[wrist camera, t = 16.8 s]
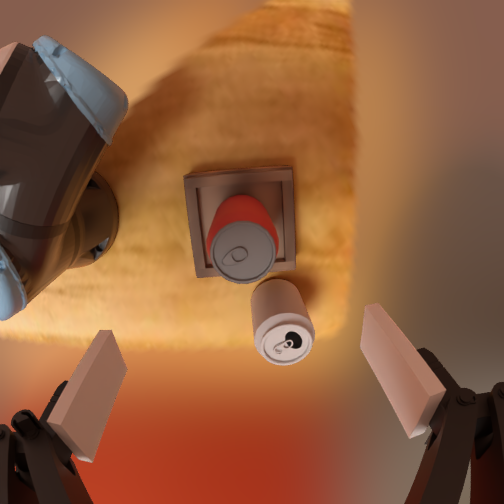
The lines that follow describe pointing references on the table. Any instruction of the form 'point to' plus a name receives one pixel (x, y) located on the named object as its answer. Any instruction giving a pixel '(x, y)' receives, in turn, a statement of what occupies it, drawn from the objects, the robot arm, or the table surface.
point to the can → (281, 323)
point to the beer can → (242, 240)
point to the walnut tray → (241, 183)
